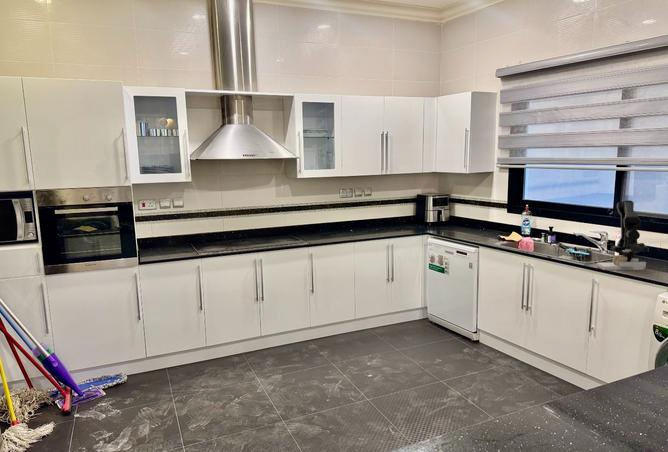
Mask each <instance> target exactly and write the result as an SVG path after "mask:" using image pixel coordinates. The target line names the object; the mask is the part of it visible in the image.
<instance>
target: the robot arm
mask: <svg viewBox="0 0 668 452" xmlns="http://www.w3.org/2000/svg"><path fill="white" fill-rule="evenodd" d="M634 206H635V203H634V202H633V200H631V199H630V200H628V199H627V200H626V199H625V200H621V201H618V202H617V203H616V210H617V213H618V214H619V216H620V239H619V240H618V242H617V244H616V245H611V246H610V251H612V252H614V253H617V254H618V256H620V255H623V256H625V257H627V262H630V261H631V259H633V257H634V255H637V254H638V253H640V252H641V251H642V253H643V252H646V253H647V252H649V250H650V249H649V247H648V246H647V245H645V243H643V242H640V243H639V242H638V239H640V236H641V234H640V232H639V231H638V229H639V230H640V229H641V228H642V221H641V219H640V217H639V215H638V214H636V213H635V210H634Z"/></svg>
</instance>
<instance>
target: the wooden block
mask: <svg viewBox="0 0 668 452" xmlns="http://www.w3.org/2000/svg"><path fill="white" fill-rule="evenodd" d="M613 259H614V260H613ZM613 259H612V263H613V264H615V265H617V266H619V263H620V262H627V257H625V256H623V255H620V256H619V255H613Z"/></svg>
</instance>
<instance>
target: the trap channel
mask: <svg viewBox="0 0 668 452" xmlns="http://www.w3.org/2000/svg"><path fill="white" fill-rule="evenodd" d="M613 260H614V258H612V261H613ZM646 264H647V262H646V261H639V258H632V259H631V261H630V262H620V263H619V266H617V265H615V264H613V262H596V267H598V268H600V269H602V270H603V271H607V270H608V271H615V270H616V271H620V270H621V271H628V270H629V271H631V270H632V271H633V270H634V271H639V270H640V271H646V268H647V267H646V266H647V265H646Z"/></svg>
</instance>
